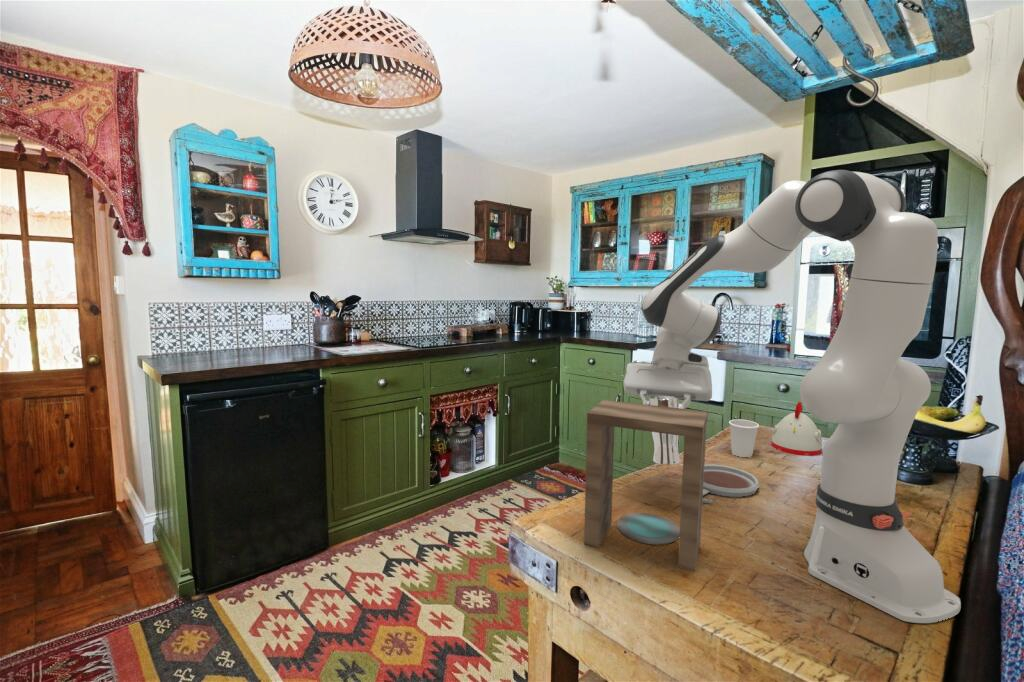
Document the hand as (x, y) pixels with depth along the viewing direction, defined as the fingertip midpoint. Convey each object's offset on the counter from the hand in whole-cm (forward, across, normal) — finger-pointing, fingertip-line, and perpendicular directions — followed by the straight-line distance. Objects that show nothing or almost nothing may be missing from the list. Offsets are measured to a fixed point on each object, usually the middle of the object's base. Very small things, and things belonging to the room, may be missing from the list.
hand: (662, 410), depth 111 cm
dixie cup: (-17, +17, +50) cm, 55 cm away
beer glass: (+8, +1, +9) cm, 12 cm away
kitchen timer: (-27, +32, +60) cm, 73 cm away
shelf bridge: (+27, 0, +6) cm, 27 cm away
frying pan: (+6, +10, +28) cm, 30 cm away
